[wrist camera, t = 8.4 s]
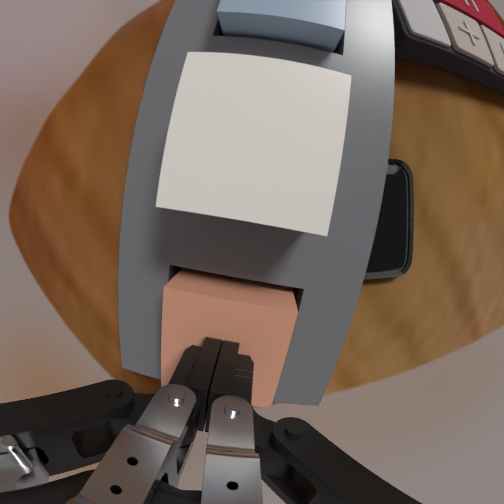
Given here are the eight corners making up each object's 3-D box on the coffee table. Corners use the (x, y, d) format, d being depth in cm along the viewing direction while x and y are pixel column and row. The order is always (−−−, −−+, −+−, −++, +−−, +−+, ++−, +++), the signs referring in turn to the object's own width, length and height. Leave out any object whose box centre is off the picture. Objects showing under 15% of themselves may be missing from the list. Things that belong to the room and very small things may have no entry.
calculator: (529, 91, 10) (411, 32, 10) (501, 98, 14) (383, 57, 14) (491, 1, 8) (367, -58, 8) (471, 14, 12) (353, -32, 12)
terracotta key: (290, 281, 15) (298, 311, 11) (269, 365, 16) (270, 408, 12) (188, 263, 15) (163, 286, 11) (180, 348, 16) (161, 386, 12)
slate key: (333, 1, 11) (346, -34, 7) (327, 64, 12) (344, 30, 8) (245, -13, 11) (240, -50, 7) (227, 48, 12) (216, 11, 8)
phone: (177, 166, 16) (412, 160, 15) (183, 167, 17) (404, 162, 16) (189, 290, 17) (410, 277, 16) (193, 284, 18) (403, 272, 18)
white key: (327, 106, 11) (351, 75, 7) (308, 222, 12) (327, 236, 8) (209, 88, 11) (187, 51, 7) (187, 201, 12) (155, 206, 8)
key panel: (367, 24, 13) (390, -11, 8) (308, 360, 19) (318, 405, 14) (208, -1, 13) (195, -41, 8) (150, 331, 19) (122, 367, 14)
